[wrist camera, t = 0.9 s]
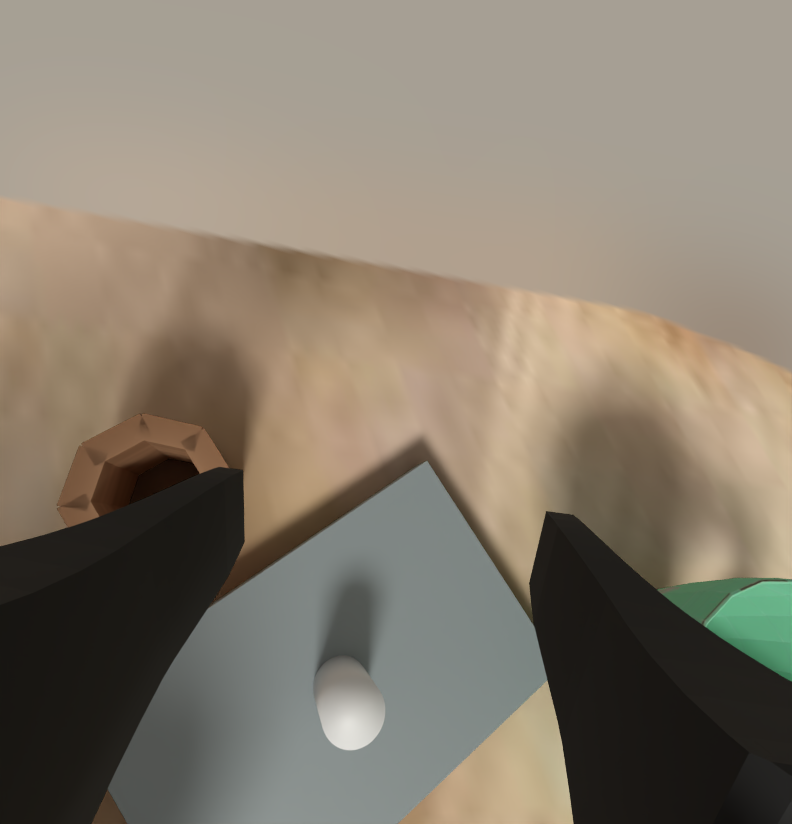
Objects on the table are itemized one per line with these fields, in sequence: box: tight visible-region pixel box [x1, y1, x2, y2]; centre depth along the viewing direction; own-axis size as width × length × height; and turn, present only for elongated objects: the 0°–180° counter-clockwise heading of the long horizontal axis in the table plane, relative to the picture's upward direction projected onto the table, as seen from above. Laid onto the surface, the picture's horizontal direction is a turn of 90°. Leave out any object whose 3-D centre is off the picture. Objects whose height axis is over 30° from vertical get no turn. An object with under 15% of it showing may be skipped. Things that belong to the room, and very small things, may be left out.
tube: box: [57, 413, 229, 527], centre depth 21 cm, size 6×6×5 cm
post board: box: [108, 461, 547, 824], centre depth 21 cm, size 18×12×5 cm, turn 123°
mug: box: [657, 578, 792, 681], centre depth 22 cm, size 15×10×10 cm
